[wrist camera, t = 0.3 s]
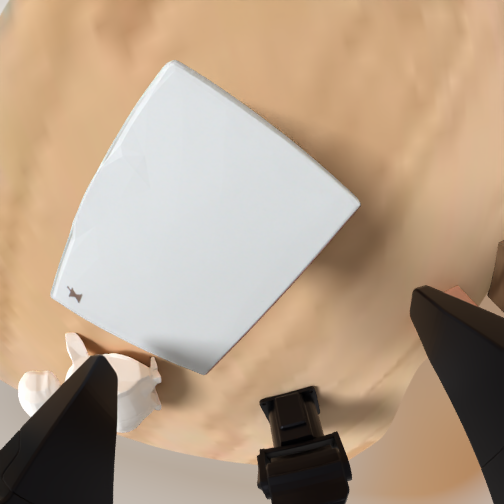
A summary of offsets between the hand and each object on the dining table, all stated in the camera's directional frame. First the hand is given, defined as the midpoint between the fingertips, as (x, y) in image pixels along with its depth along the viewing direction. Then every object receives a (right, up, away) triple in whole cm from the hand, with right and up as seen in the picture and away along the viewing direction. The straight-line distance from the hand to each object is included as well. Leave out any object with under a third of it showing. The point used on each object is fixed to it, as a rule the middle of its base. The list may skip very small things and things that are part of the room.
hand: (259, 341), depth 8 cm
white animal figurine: (-16, -9, +20) cm, 27 cm away
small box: (-3, +8, +12) cm, 15 cm away
